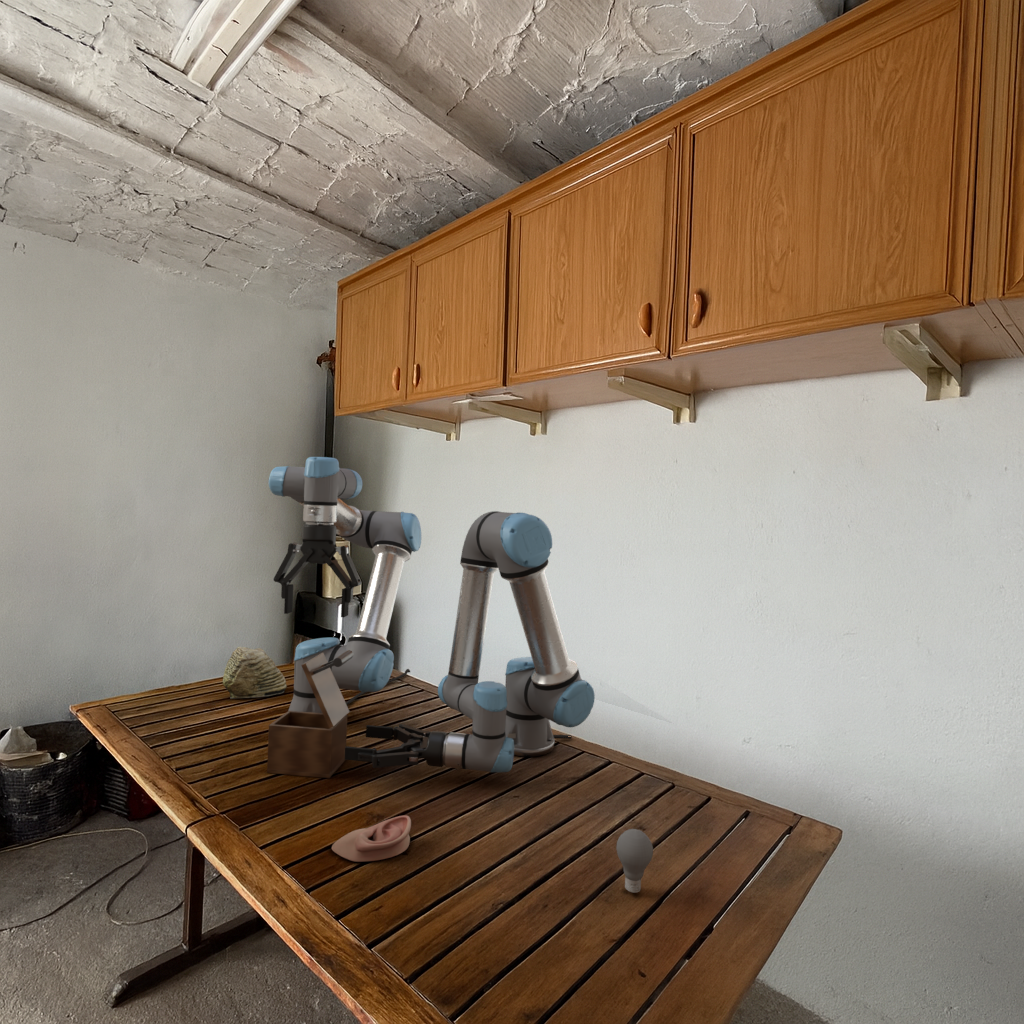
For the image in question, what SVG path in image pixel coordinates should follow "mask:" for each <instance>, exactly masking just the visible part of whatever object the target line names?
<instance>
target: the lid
mask: <svg viewBox="0 0 1024 1024" xmlns="http://www.w3.org/2000/svg"><path fill="white" fill-rule="evenodd" d="M352 657H353V652H352V651H350V650H348V651H346V652H344V653H343V654H341V655H340V656H338V657H337V658H335V659H334V660H333V661H330V662H327V660H326V658H325V655H324V653H321V654H319V655H317V656H315V657H314V658H312V659H310V660H309V661H307V662H305V663H304V664H302V665H301V666H302V668H303V670H304V673H305V675H306V677H307V679H308V682H309V684H310V686H311V688H312V691H313V693H314V695H315V697H316V700H317V702H318V704H319V706H320V709H321V711H322V713H323V715H324V718H325V720H326V722H327V724H328V727H329V728H331V727H334V726H335V725H336V724H337V723H338V722H339V721H340V720H341V719H342V718H343V717H344V716H345V715H348V714H349V713H350V709H349V707H348V705H346V703H345V702H346V701H345V698H344V696H343V693H342V691H341V689H339V687H338V685H337V682H336V680H335V678H334V676H333V673H332V671H331V669H330V667H332V666H336V667H340V666H341V665H343V664H344V663H346V662H347V661H348V660H350V659H351V658H352Z"/></svg>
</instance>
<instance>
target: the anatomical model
mask: <svg viewBox="0 0 1024 1024" xmlns="http://www.w3.org/2000/svg"><path fill="white" fill-rule="evenodd" d="M411 828H412V820H411V817H410V816H409V815H406V814H405V815H399V816H395V817H392V818H389V819H386V820H383V821H380V822H378V823H377V824H374V825H372V826H369V827H365V828H364V827H363V828H359V829H355V830H352V831H351V832H348V833H346V834H345V835H343V836H342V837H340V838H338V840H336V841H335V842H334V843H333V844H332V845H331V850H332V852H334V853H335V854H337V855H338V856H340V857H341V858H343V859H345V860H348V861H351V862H354V863H356V862H357V863H361V862H364V863H365V862H374V861H380V860H381V861H382V860H385V859H386V860H387V859H389V858H393V857H395V856H398V855H400V854H403V852H405V851H406V850H407V849H408V848H409V845H410V842H411V837H410V832H411Z"/></svg>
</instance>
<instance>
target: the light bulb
mask: <svg viewBox="0 0 1024 1024" xmlns="http://www.w3.org/2000/svg"><path fill="white" fill-rule="evenodd" d="M615 849H616V854H617V857H618V859H619V861H620V863H621V865H622V867H623V873H624V874H623V875H624V876H625V878H624V888H625V890H627V891H628V892H630V893H634V894H635V893H639V892H640V891H641V889H642V887H641V886H642V879H643V877H644V875H645V871H646V868H647V867H648V866H649V864H650V863H651V861H652V859H653V855H654V847H653V843H652V841H651V838H649V836H648V835H647V834H646V833H645V832H643V831H642V830H641V829H636V828H629V829H627V830H625V831H623V832H622V833H621V834H620V835H619V837H618V839H617V841H616V847H615Z"/></svg>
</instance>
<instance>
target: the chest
mask: <svg viewBox="0 0 1024 1024" xmlns="http://www.w3.org/2000/svg"><path fill="white" fill-rule="evenodd" d="M347 733H348V714H346V715H345V716H344V717H343V718H342V719H341V720H340V721H339V722H338V723H337V724H336V725H335V726H334V727H331V728H329V727H328V724H327V722H326V720H325V718H324V715H323V713H313V712H300V711H286V712H285V713H284V714H282V715H281V716H280V717H278V718H277V719H276V720H274V721H272V722H271V723H270V724H269V725H268V739H267V765H266V769H267V770H266V773H267V774H278V775H290V776H299V777H310V778H312V777H313V778H323V779H324V778H325V779H330V778H331V777H332V776H333V775H334V774H335V773H336V771H338V769H340V767H341V766H342V765H343V764H344V762H346V760H345V747H346V746H347Z"/></svg>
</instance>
